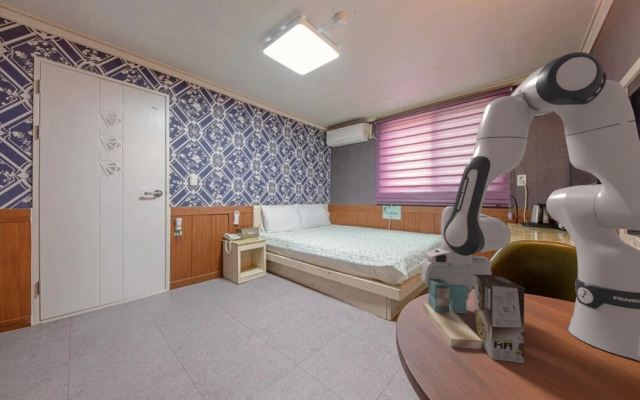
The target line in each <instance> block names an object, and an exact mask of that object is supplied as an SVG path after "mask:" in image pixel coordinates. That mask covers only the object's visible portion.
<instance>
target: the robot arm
mask: <svg viewBox="0 0 640 400" xmlns="http://www.w3.org/2000/svg"><path fill="white" fill-rule="evenodd" d="M553 112H554V113H555V114H557V115H558V117H560V119H561V121H562V122H563V131H564V136H565V142H566V147H567V153H568V158H569V163H570V164H571V165H572V166H573V167H574V168H575V169H578V170H580V171H584V172H587V173H589V174H591V175H593V176H595V177H596V179H598V180H599V182H600V184H599V183H598V184H585V185H583V184H581V185H579V184H578V185H572V186H567V187H563V188H558V189H555V190H553V192H552V193H550V194H549V196H548V198H547V200H546V203H545V204H546V210H547V213H548V215H549V216H550V217H551V219H553V220H555V221H556V222H558V224H560V225H561V226H562V227H563V228H564V229H565V230H566V231H567V233H568V234H569V236H570V238H571V239H572V241H573V244H574V246H575V250H576V258H577V277H576V278H575V283H574V285H575V286H574V292H575V295H576V299H575V303H574V308H573V314H572V317H571V319H570V324H569V326H568V327H567V328H568V329H567V330H568V332H569V333H570V334H571V335H572V336H574V337H575V338H577V339H579V340H580V341H582V342H584V343H586V344H588V345H591V346H593V347H596V348H597V349H600V350H604V351H606V352H609V353H612V354H614V355H618V356H622V357H626V358H629V359H633V360H636V361H638V362H640V249H638V248H636V247H635V246H632V245H629V244H628V243H626V242H625V241H624V240H623V239H622V238H621V237H620V236H619V234H618V232H617V229H618V230H630V231H640V137H639V133H638V128H637V123H636V116H635V113H634V109H633V106H632V103H631V101H630V98H629V96H628V94H627V92H626V90H625V88H624V86H623V85H622V84H621V82H618V81H616V80H612V79H611V80H609V79H608V80H607V73H606V72H605V71H604V69H603V66H602V64H601V62H600V61H599V60H598V59H597V58H596V57H595V56H594V55H592V54H590V53H588V52H583V51H580V52H579V51H577V52H571V53H566V54H564V55H561V56H559V57H557V58H554V59H552V60H550V61H549V62H548V63H546V64H545V65H544V66H542V67H540V68H538V69H537V70H535V71H534V72H532V73H531V74H529V75H528V77H526V79H525V80H523V81H522V82H520V83H519V84H518V85H517V86H516V87H514V89H513V90H512V92H510V94H509V95H505V96H501V97H497V98H496V99H493V100H492V101H490V102H489V103H488V104H487V105H486V106H485V108H484V110H483V113H482V115H481V118H480V121H479V123H478V124H479V125H478V128H477V132H476V138H475V145H474V148H473V152H472V155H471V157H470V160H469V161H468V162H467V164H466V165H465V168H464V170H463V172H462V175H461V180H460V182H459V186H458V190H457V193H456V197H455V201H454V204H452V205H448V206H446V207H444V208H443V210H442V212H441V216H440V217H441V219H440V234H441V241H440V247H438V248H434V249H431V250H428V251H425V253H424V256H425V258H426V259H424V260H423V263H422V268H421V280H422V282H424V283H425V284H426V285H428V286H429V279H442V280H444V281H445V282H446V283H448V284H449V285H451V286H465V287H467V301H469V298H470V297H469V296H470V294H471V293H472V291H473V289H474V274H477V275H493V274H492V261H491V260H490V258H488V257H487V256H485V255H484V256H483V255H481V256H480V255H479V256H478V255H475V254H479V253H486V252H492V251H496V250H501V249H503V248H505V247H507V245H508V244H509V243H510V240H511V230H510V227H509V226H508V224H506V221H503V220H502V219H499V218H497V217H494V216H490V215H487V214H485V213H482V209H483V205H484V201H485V197H486V194H487V191H488V189H489V187H490V185H491V184H492V183H493V181H495V180H496V179H497V178H499V177H500V176H502V175H504V174H506V173H509V172H511V171H512V170H514V169H515V168H517V167H518V166H519V165H520V164H521V162H522V161H523V158H524V156H525V152H526V149H527V144H528V138H529V131H530V130H529V129H530V126H531V123H532V121H533V119H535V118H539V117H542V116H544V115H548V114H550V113H553ZM450 295H451V294H450V293H449V299H450Z"/></svg>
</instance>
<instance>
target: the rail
mask: <svg viewBox="0 0 640 400" xmlns="http://www.w3.org/2000/svg"><path fill="white" fill-rule="evenodd" d="M422 311H424V313H425V314H426V315H427V317H428V319H429V320H430V321H431V322H432V324H433V325H434V326H435V328H436V329H437V331H438V332H439V333H440V334H441V336H442V337H443V339H444V340H445V341H446V343H447V344H448V345H449V347H450V348H457V349H458V348H460V349H473V350H474V349H475V350H483V347H482V340H481V339H480V338H479V337H478V336H477V335H476V334H475V333H474V330H473V329H472V328H470V326H469V325H468V324H466V322H464V321H463V319H461V317H460V316H459V315H457V313H454V312H453V311H452V310H451V309H450V308H449V284H448V283H446V282H445V281H444V280H442V279H429V285H428V302H427V303H422Z"/></svg>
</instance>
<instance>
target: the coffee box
mask: <svg viewBox="0 0 640 400" xmlns="http://www.w3.org/2000/svg"><path fill="white" fill-rule="evenodd" d="M473 289H474V291H473V292H474V296H473V297H474V298H473V299H474V300H473V301H474V302H473V303H474V304H473V305H474V306H473V309H474V310H473V311H474V314H473V317H474V321H473V322H474V323H473V324H474V328H473V329H474V330H473V332H474V333H475V334H476V335H477V336H478V337H479V338H480V339H481V340H482V349H484V351H485V352H486V353H487V354H488V355H489V357H490V358H491V359H492V360H497V361H502V362H504V361H505V362H511V363H516V364H517V363H518V364H523V363H524V361H525V358H524V357H525V355H524V353H525V351H524V349H525V345H524V344H525V289H526V288H525V287H523V286H522V285H520V284H518V283H516V282H514V281H512V280H510V279H508V278H507V277H505V276H503V275H501V274H500V275H499V274H498V275H496V274H492V275H477V274H474V286H473Z"/></svg>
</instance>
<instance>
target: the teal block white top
mask: <svg viewBox="0 0 640 400" xmlns="http://www.w3.org/2000/svg"><path fill="white" fill-rule="evenodd" d="M449 293H450V294H451V295H450V299H449V308H450V309H451V310H452V311H453V312H454V313H455V314H467V304H468V303H467V301H468V300H467V287H465V286H451V285H449Z"/></svg>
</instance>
